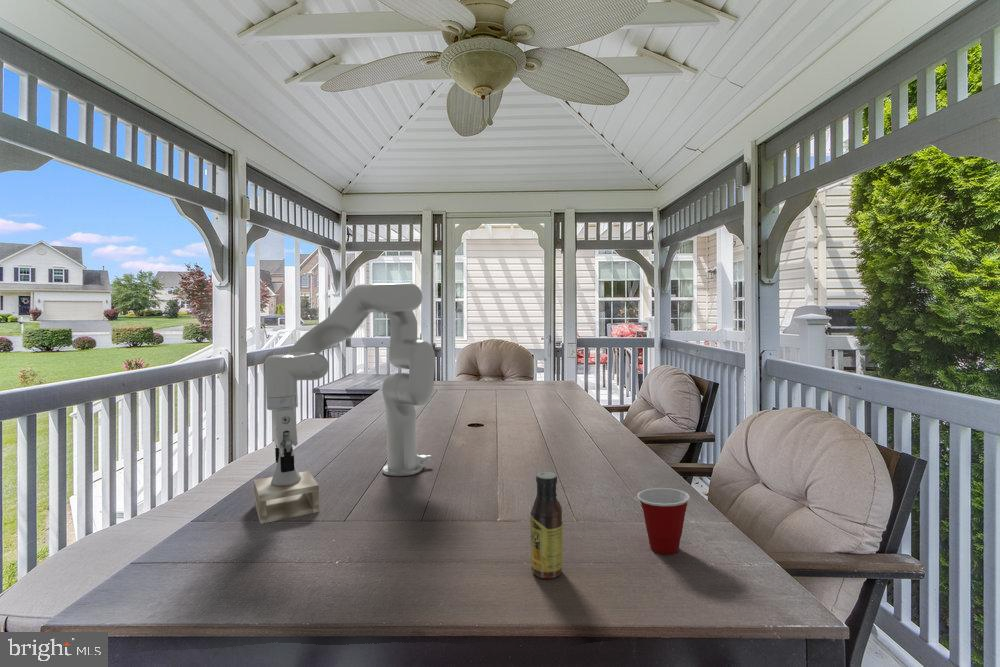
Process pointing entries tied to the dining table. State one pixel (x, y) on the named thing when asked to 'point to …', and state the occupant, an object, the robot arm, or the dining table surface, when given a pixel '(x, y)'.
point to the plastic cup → (664, 517)
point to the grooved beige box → (286, 498)
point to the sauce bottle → (546, 528)
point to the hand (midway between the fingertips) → (284, 466)
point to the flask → (284, 475)
